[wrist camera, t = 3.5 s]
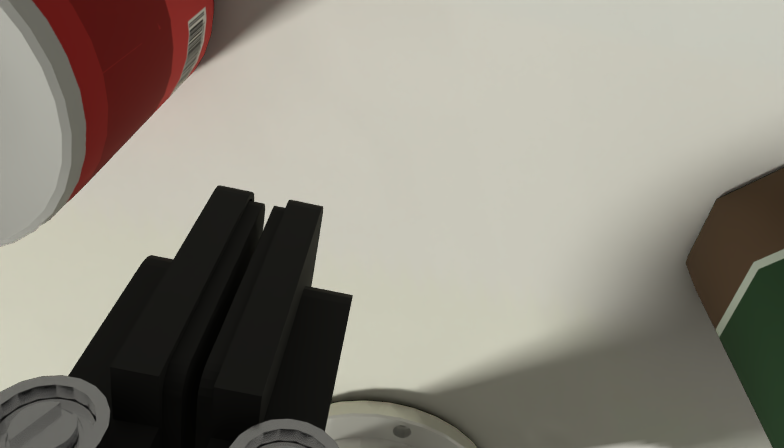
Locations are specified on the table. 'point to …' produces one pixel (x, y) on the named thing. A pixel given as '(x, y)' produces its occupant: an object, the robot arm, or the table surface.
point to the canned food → (82, 91)
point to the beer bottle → (748, 290)
